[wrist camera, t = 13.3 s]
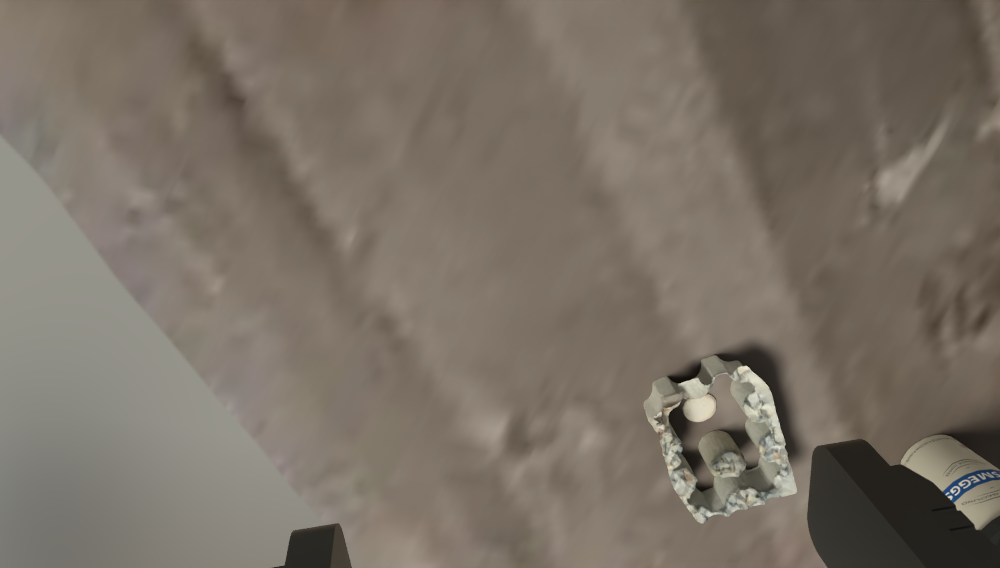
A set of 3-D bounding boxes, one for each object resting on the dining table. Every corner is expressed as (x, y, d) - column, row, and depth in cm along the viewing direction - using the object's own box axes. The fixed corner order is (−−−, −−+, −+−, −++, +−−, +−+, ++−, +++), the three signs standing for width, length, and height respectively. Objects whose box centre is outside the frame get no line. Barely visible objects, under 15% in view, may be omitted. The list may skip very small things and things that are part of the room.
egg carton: (631, 381, 48) (649, 418, 45) (742, 338, 48) (770, 371, 44) (675, 501, 53) (695, 543, 49) (777, 462, 52) (805, 502, 49)
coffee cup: (972, 490, 55) (1083, 597, 46) (880, 509, 55) (974, 621, 46) (983, 411, 52) (1105, 509, 43) (886, 431, 52) (988, 534, 43)
